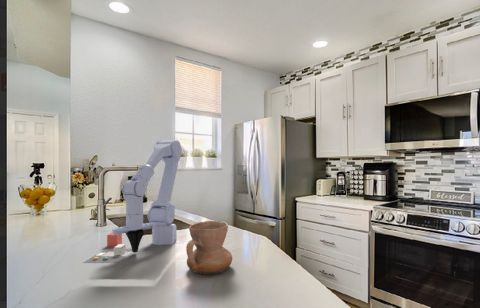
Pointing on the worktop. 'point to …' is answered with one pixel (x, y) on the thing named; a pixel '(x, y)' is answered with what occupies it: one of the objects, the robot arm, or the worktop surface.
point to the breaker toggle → (119, 249)
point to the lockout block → (114, 239)
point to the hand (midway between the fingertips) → (134, 251)
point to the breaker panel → (108, 256)
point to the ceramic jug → (208, 247)
